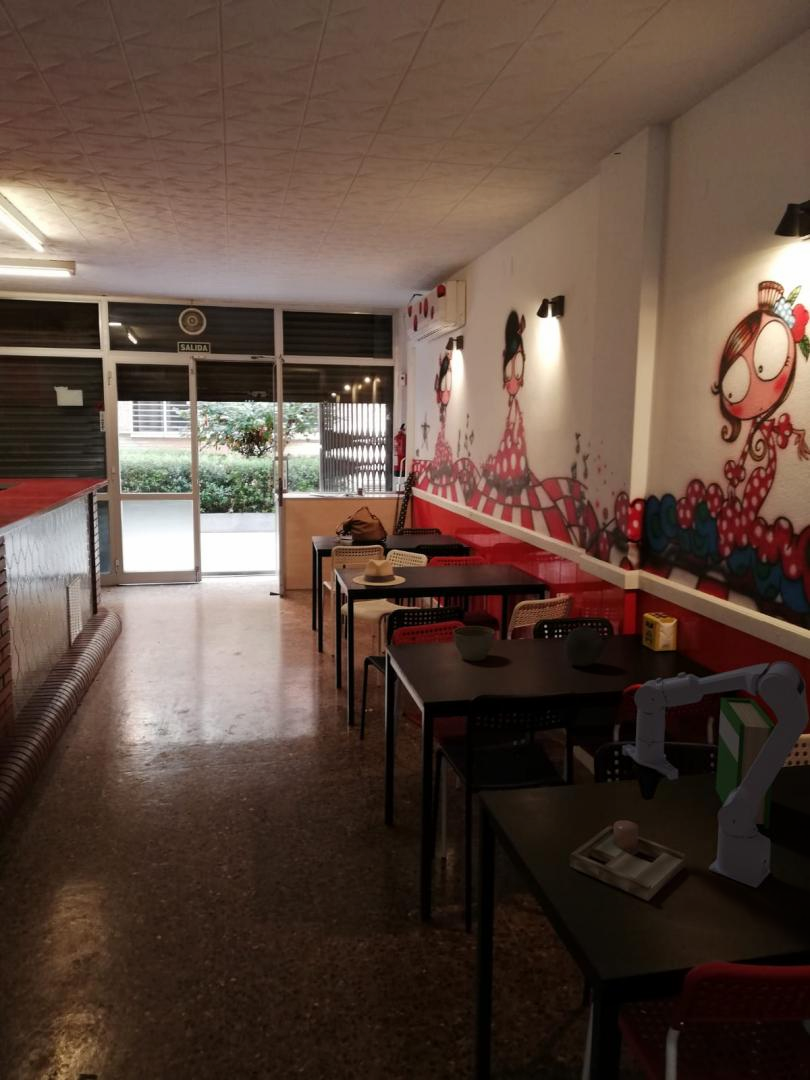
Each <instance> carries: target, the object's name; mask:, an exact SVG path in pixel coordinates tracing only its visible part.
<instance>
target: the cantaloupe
mask: <svg viewBox="0 0 810 1080" xmlns="http://www.w3.org/2000/svg"><path fill="white" fill-rule="evenodd" d="M563 647H564V648H563V649H564V654H565V658H566V659H567V661H568V662H569V663H570V664H572V665H574V666H576V667H578V668H579V667H580V668H583V667H584V668H585V667H587V666H590V665H592V664H594V663H595V662H596V661H597V660H598V659H599V658H600V657H601V655H602V653H603V651H604V647H605V642H604V639H603V636H602V635H601V634H600V632H598V631H597V630H595V629H593V628H592V627H589V626H578V627H575V628H573V629H572V630H570V632H569V633H568V634H567V637H566V638H565V641H564V645H563Z"/></svg>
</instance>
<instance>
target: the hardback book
mask: <svg viewBox="0 0 810 1080" xmlns="http://www.w3.org/2000/svg"><path fill="white" fill-rule="evenodd" d="M719 707H720V708H719V709H720V710H719V712H720V713H719V726H718V727H719V728H718V745H717V746H718V748H717V762H716V763H717V764H716V780H715V792H716V791H717V792H716V794H717V793H718V794H719V796H720V798H719V800H720V799H721V800H720V802H721V801H722V802H721V804H722V803H723V804H722V806H723V805H724V803H725V802H726V800H727V797H728V795H729V793H730V792H731V791H732V790H735V789H737V788H738V787H739V786H740V785H741V783H742V781H743V780H744V778H745V777H746V775H747V773H748V772H749V770H750V768H751V767H752V765H753V763H754V762H755V760H756V758H757V757H758V755H759V753H760V752H761V750H762V748H763V747H764V745H765V743H766V741H767V740H768V738H769V736H770V735H771V733H772V731H773V730H774V728H775V726H776V725H775V724H774V723H773V721H772V720H771V719H770V717H769V716H768V715H767V714H766V713H765V711H764V710H763V709H762V708H761V707H760V705H759V704H758V703H757V702H756V701H755V700H754V698H738V697H720V706H719ZM772 785H773V782H772V783H771V785H770V787H769V788H768V790H767V791H766V793H765V795H764V796H763V798H762V800H761V802H760V810H759V813H758V814H757V815H756V817H755V819H754V821H755V823H756V825H758V824H759V825H761V826H762V827H763V828H764V829H766V830H767V829H770V819H771V818H770V817H771V815H770V814H771V802H772V800H771V799H772V789H773V788H772V787H773V786H772ZM718 794H717V795H718ZM719 796H718V797H719Z"/></svg>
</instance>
